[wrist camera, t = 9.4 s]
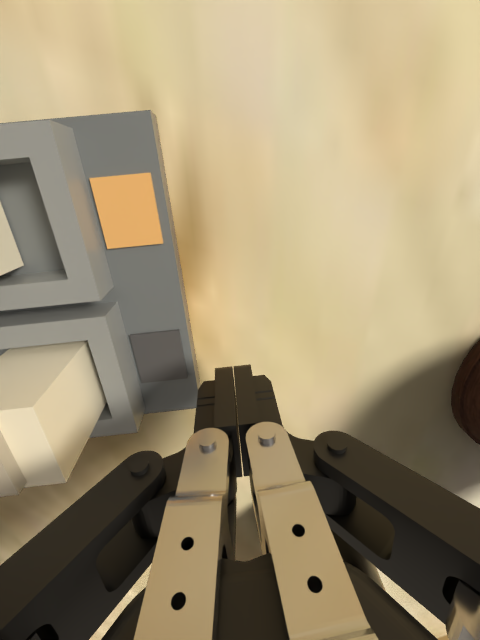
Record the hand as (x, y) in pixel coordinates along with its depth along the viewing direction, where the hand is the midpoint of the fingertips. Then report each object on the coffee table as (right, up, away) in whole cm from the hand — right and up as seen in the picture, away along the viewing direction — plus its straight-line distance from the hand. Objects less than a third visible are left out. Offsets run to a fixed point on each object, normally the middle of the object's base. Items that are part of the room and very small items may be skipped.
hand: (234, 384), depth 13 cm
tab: (-8, 0, +2) cm, 9 cm away
